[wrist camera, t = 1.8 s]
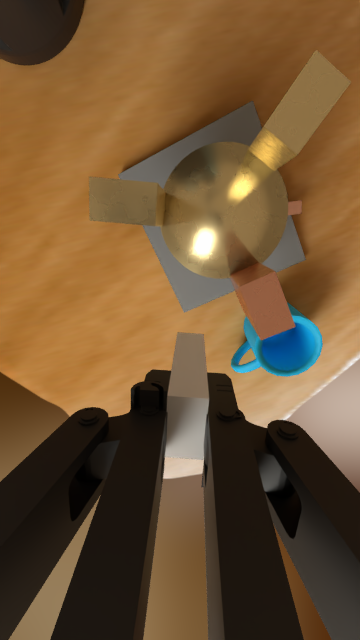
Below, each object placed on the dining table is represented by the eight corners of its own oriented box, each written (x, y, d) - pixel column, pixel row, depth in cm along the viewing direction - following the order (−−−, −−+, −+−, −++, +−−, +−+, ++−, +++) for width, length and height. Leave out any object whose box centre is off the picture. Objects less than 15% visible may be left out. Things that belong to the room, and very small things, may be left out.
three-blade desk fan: (107, 198, 29) (71, 186, 21) (292, 98, 26) (340, 36, 18) (177, 338, 34) (171, 375, 25) (343, 268, 31) (400, 285, 22)
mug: (278, 287, 41) (297, 301, 33) (309, 328, 43) (335, 351, 35) (212, 337, 44) (216, 360, 36) (244, 373, 45) (255, 404, 38)
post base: (120, 176, 37) (98, 161, 29) (264, 97, 34) (288, 53, 25) (184, 310, 42) (182, 331, 34) (314, 253, 39) (348, 260, 31)
